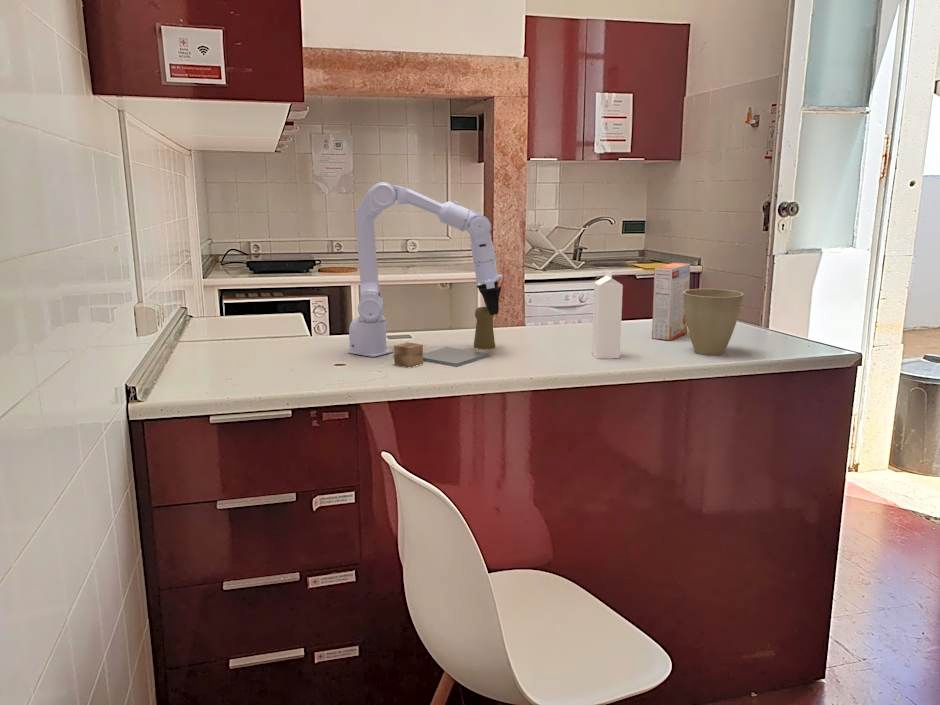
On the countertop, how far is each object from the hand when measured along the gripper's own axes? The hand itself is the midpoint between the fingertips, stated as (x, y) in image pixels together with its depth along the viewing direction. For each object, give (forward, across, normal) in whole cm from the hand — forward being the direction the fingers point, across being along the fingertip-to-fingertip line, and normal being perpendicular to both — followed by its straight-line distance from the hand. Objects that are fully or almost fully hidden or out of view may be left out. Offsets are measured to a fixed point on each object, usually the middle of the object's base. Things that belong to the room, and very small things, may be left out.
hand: (493, 312), depth 198 cm
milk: (+16, -8, -26) cm, 31 cm away
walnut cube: (+7, -13, +24) cm, 28 cm away
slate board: (+9, -7, +13) cm, 17 cm away
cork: (+10, +6, +4) cm, 13 cm away
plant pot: (+20, -5, -54) cm, 58 cm away
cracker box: (+20, +17, -51) cm, 57 cm away
